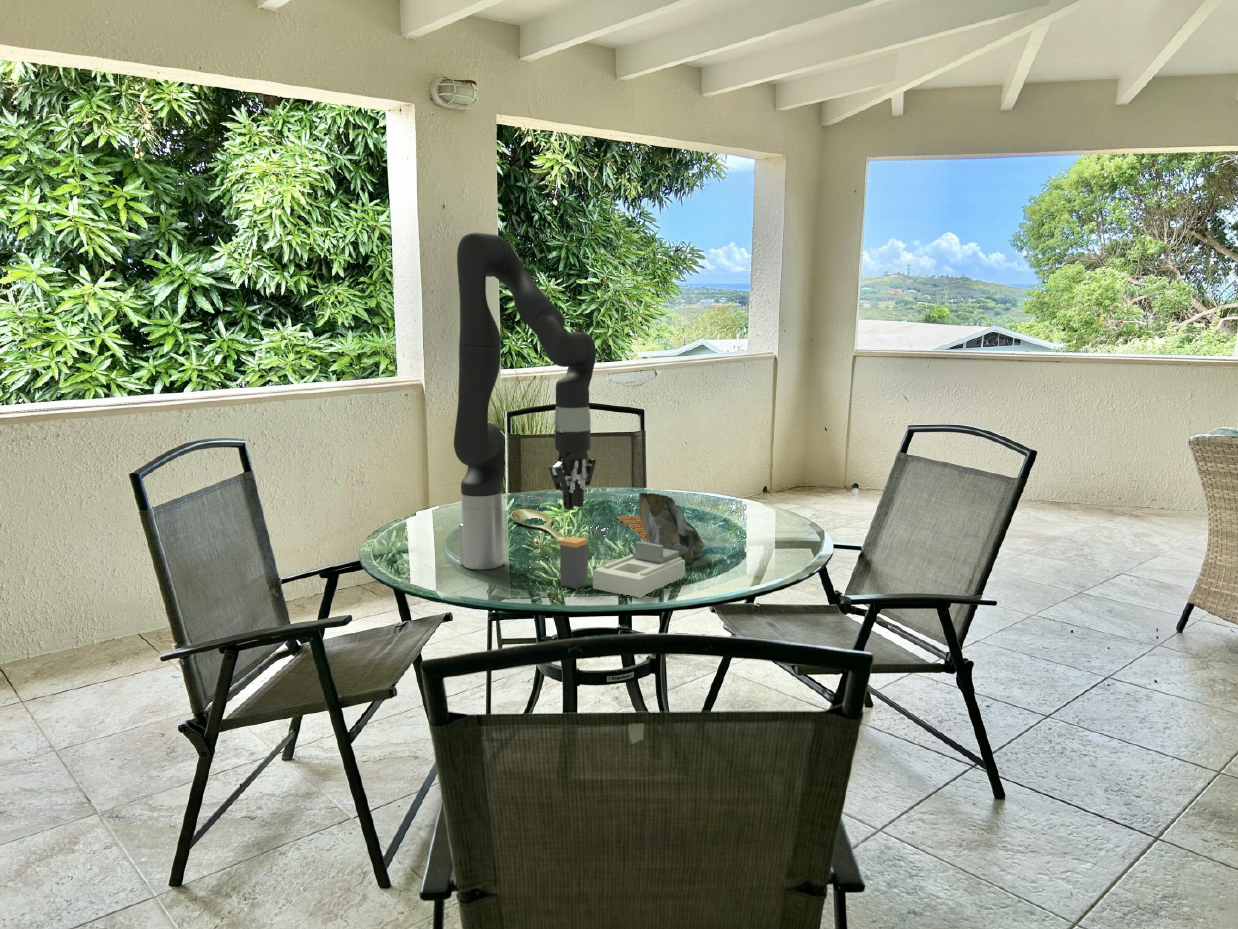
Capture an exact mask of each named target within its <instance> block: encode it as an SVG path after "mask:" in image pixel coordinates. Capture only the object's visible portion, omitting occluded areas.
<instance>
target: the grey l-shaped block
mask: <svg viewBox="0 0 1238 929" xmlns="http://www.w3.org/2000/svg"><path fill="white" fill-rule="evenodd" d="M632 554H633V558H638V559H643V560H648V561H654V562H659V563H665V562H667V561H669V560H672V559H674V558H676V557H679V551H674V550H669V549H663V545H657V544H652V543H648V542H647V541H645V542H644V541H639V540H638V541H636V542H635V551H633V552H632Z"/></svg>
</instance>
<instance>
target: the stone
mask: <svg viewBox="0 0 1238 929" xmlns="http://www.w3.org/2000/svg"><path fill="white" fill-rule="evenodd" d="M638 511H639V516H640V519H641V522H642V524H643V528H644V529H645V532H646V537H647V538H648V541H649V543H652V544H657V545H663V549H669V550H674V551H679V557H681V558H682V560H685V564H689V563H691V564H692V563H693V562H694V559H698V558H700V557H702V554H703V551H704V547H705V543H704V541H703V540H701V539H700V537H701V536H700V534H699V532H698V530H697V529H696V528H695V527H694V526H693V525H692V524H690V523H689V521H687V520H686V518H685V516H684V515H683V513H682V510H680V508H679V507H678V505H677V503H676V501H675V499H673V497H671V496H670V497H669V496H668V495H665V494H659V493H651V492H649V493H645V492H638ZM699 536H700V537H699Z"/></svg>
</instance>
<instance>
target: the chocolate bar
mask: <svg viewBox="0 0 1238 929" xmlns="http://www.w3.org/2000/svg"><path fill="white" fill-rule="evenodd" d="M628 517H631V518H632V519H633V520H635V521H636V522H638V523H639V524H640V525H641V526H640V525H639V524H636V522H634V521H633V520H631V519H630V518H628ZM616 518H618V519H620V521H623V522H624V523H625V524H626V525H628V527H629V528H632V529H634V530H633V531H634V532H635V533H634V532H633V531H632V532H633V533H634V534H636V535H637V534H639V535H640V536H641V537H642V538H641V537H640V536H639V535H638V536H639V537H640V538H641V539H643V540H644V541H646V540H648V538H647V537H646V532H645V529H644V528H642V527H643V524H642V522H641V519H640V515H639V514H636V515H635V514H634V515H629V516H626V515H623V516H616ZM629 528H628V529H629ZM699 537H700V539H701V538H702V537H701V535H699ZM648 542H649V541H648ZM648 542H647V543H648Z"/></svg>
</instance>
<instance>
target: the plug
mask: <svg viewBox="0 0 1238 929" xmlns="http://www.w3.org/2000/svg"><path fill="white" fill-rule="evenodd" d="M588 541H589V539H588V538H585V537H583V538H582V537H578V536H570V537H567V538H566V539H563V540H560V542H559V543H560V544H559V546H560V547H559V548H560V551H559V552H560V554H559V555H560V586H563V587H567V588H571V589H575V590H576V589H578V588H581V587H584V586H587V585H588V584H589V560H588V559H589V557H588V556H589V553H588V552H589V549H588V548H589V543H588Z"/></svg>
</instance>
